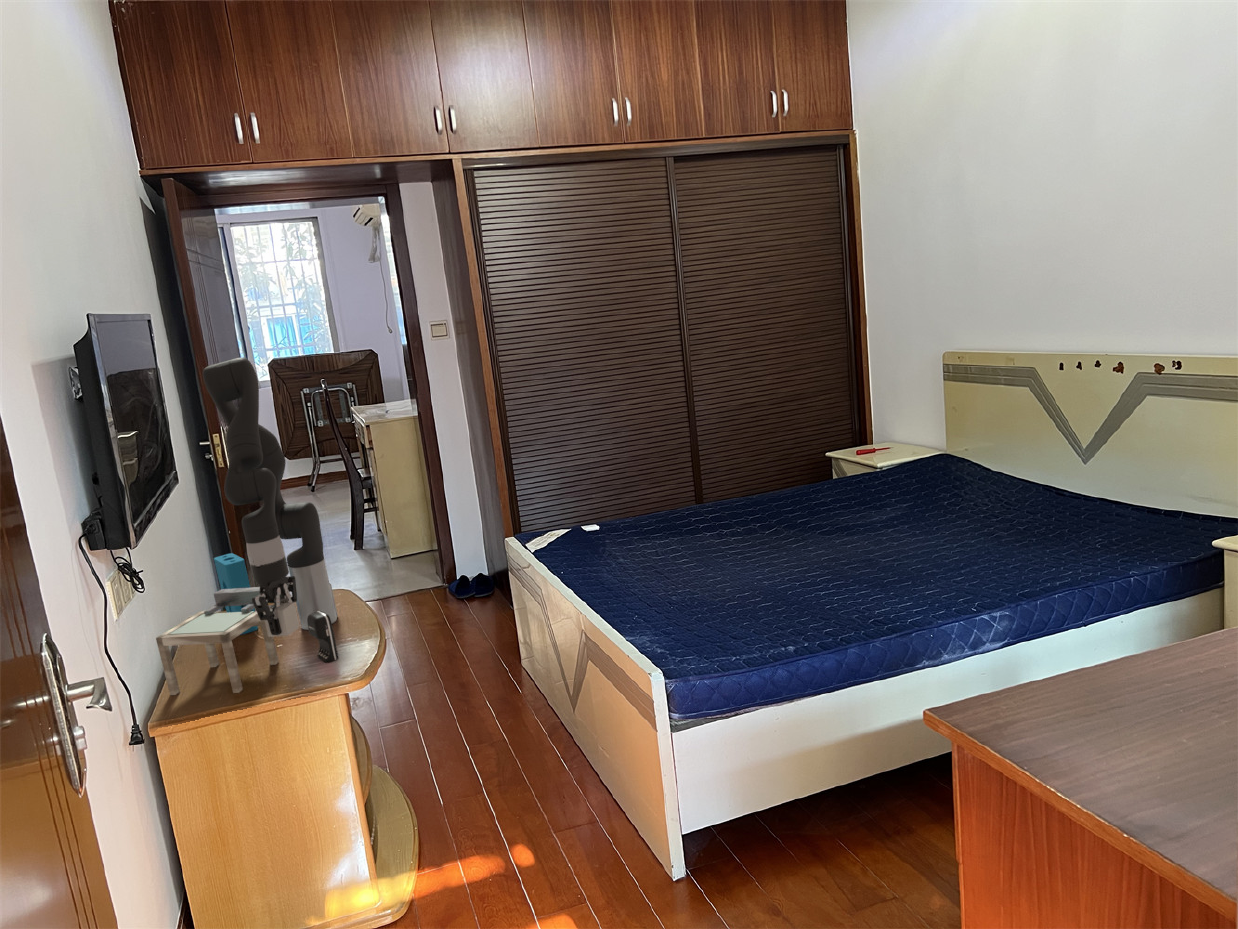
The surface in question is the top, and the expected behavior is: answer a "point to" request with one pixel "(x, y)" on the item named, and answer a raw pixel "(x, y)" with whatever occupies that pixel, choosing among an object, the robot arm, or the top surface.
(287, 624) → the stone block
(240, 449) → the robot arm
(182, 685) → the top surface
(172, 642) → the trapdoor frame
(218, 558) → the block
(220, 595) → the trapdoor
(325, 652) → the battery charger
